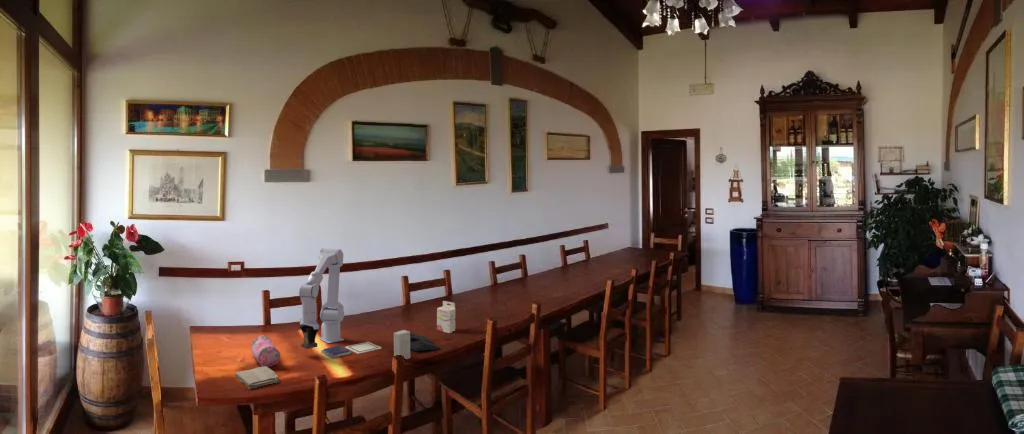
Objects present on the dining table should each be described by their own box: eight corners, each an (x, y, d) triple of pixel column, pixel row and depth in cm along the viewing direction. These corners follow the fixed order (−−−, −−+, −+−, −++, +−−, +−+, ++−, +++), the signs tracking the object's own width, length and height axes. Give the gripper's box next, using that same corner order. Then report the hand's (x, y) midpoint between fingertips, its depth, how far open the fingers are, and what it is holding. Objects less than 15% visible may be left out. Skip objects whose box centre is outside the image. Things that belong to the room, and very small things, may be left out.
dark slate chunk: (411, 355, 266) (411, 345, 266) (394, 342, 285) (394, 332, 285) (442, 350, 274) (442, 340, 274) (424, 337, 293) (424, 328, 293)
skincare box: (404, 356, 264) (404, 329, 263) (410, 358, 261) (410, 331, 260) (393, 359, 259) (393, 332, 258) (399, 361, 256) (399, 334, 255)
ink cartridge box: (436, 330, 304) (436, 302, 303) (442, 328, 309) (442, 300, 307) (449, 333, 300) (449, 304, 299) (455, 331, 304) (455, 302, 303)
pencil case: (250, 355, 261) (249, 335, 261) (272, 352, 266) (272, 332, 265) (257, 370, 243) (256, 348, 242) (280, 366, 248) (280, 345, 247)
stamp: (301, 346, 262) (301, 331, 261) (312, 344, 266) (312, 329, 265) (306, 349, 258) (306, 334, 258) (317, 346, 262) (317, 332, 261)
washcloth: (249, 391, 222) (249, 383, 222) (233, 377, 236) (233, 370, 235) (281, 383, 230) (281, 375, 230) (264, 371, 244) (264, 363, 243)
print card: (345, 347, 274) (345, 346, 274) (368, 342, 282) (368, 341, 282) (358, 354, 265) (358, 352, 265) (381, 348, 274) (381, 347, 274)
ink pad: (321, 352, 266) (321, 348, 266) (340, 348, 272) (339, 344, 272) (332, 358, 259) (332, 354, 259) (350, 354, 265) (350, 350, 265)
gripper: (293, 309, 263) (293, 339, 264) (307, 316, 253) (308, 347, 254) (308, 307, 268) (308, 336, 269) (323, 313, 257) (323, 344, 259)
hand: (309, 341), depth 262 cm, fingers closed on stamp, 4 cm apart
